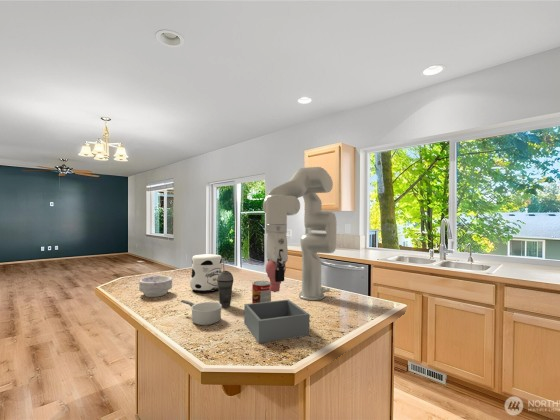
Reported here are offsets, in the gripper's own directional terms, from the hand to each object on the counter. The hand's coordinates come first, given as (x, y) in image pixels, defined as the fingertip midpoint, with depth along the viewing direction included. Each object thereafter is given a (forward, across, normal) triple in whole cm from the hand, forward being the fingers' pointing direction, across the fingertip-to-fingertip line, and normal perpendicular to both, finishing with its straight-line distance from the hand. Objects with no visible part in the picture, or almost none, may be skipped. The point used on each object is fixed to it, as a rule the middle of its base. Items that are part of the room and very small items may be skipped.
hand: (275, 278), depth 102 cm
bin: (+18, 0, 0) cm, 18 cm away
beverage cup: (+18, +31, +12) cm, 38 cm away
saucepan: (+18, +20, +24) cm, 36 cm away
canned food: (+18, +19, -1) cm, 26 cm away
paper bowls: (+18, +61, +41) cm, 76 cm away
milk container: (+18, +62, +16) cm, 67 cm away
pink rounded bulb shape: (+5, 0, 0) cm, 5 cm away
